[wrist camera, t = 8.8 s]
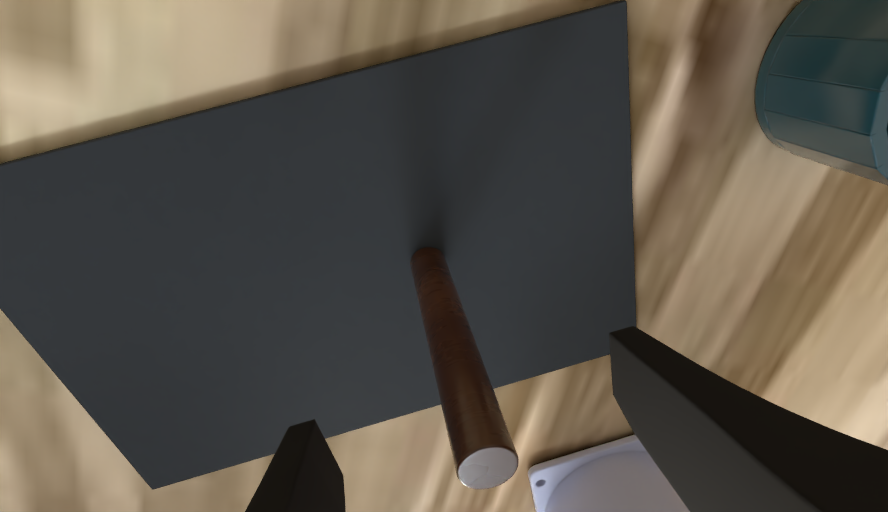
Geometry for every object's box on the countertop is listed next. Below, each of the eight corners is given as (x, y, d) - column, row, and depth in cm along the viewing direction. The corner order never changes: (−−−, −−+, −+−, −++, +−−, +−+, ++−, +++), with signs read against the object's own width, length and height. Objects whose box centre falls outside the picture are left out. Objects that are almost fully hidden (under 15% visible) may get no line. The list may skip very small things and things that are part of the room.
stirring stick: (448, 272, 18) (522, 478, 10) (415, 281, 18) (464, 497, 10) (440, 242, 17) (514, 438, 9) (406, 252, 17) (450, 456, 9)
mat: (632, 341, 22) (637, 346, 21) (155, 482, 21) (152, 490, 20) (620, 0, 15) (627, 0, 15) (-89, 186, 14) (-100, 191, 14)
